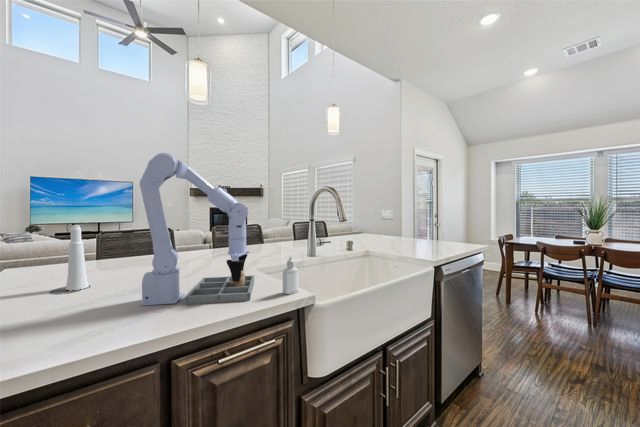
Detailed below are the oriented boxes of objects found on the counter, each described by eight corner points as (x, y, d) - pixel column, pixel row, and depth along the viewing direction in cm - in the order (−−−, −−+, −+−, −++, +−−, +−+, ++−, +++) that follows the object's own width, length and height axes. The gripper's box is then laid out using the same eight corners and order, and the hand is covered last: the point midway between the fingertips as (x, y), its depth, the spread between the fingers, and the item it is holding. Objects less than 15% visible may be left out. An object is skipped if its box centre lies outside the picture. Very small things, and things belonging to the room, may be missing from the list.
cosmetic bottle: (78, 291, 92) (76, 226, 91) (60, 291, 92) (58, 226, 91) (93, 285, 98) (91, 224, 97) (76, 285, 98) (75, 224, 97)
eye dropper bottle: (300, 293, 90) (300, 257, 89) (283, 295, 88) (283, 258, 88) (297, 289, 94) (297, 255, 94) (281, 291, 92) (281, 256, 92)
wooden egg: (230, 291, 90) (230, 271, 90) (232, 287, 95) (232, 268, 94) (244, 290, 91) (243, 270, 91) (245, 286, 95) (245, 267, 95)
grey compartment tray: (185, 304, 80) (185, 296, 80) (203, 283, 101) (203, 277, 101) (250, 300, 83) (249, 293, 83) (254, 281, 104) (254, 275, 104)
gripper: (247, 241, 86) (248, 283, 86) (251, 235, 100) (251, 272, 100) (224, 241, 85) (224, 284, 85) (231, 236, 99) (231, 273, 99)
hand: (237, 278), depth 93 cm, fingers open, 7 cm apart
